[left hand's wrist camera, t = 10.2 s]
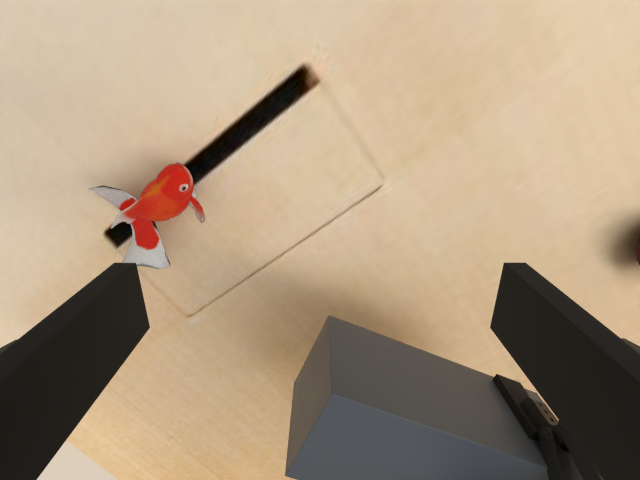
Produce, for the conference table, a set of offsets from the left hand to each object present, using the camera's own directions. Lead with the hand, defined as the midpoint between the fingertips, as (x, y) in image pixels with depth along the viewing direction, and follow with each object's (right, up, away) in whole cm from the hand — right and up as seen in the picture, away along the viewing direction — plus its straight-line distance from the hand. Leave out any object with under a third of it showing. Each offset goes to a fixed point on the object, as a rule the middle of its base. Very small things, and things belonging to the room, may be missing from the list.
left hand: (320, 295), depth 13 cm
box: (+10, -13, +23) cm, 28 cm away
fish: (-19, +6, +30) cm, 36 cm away
